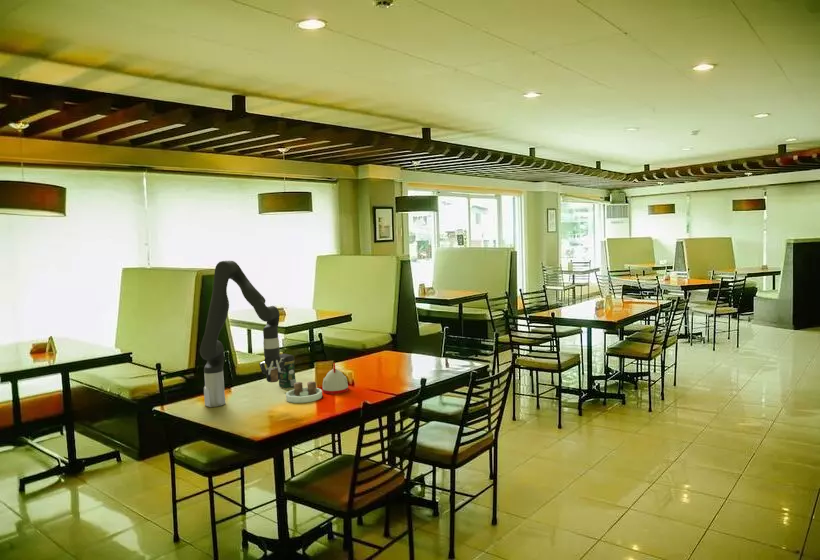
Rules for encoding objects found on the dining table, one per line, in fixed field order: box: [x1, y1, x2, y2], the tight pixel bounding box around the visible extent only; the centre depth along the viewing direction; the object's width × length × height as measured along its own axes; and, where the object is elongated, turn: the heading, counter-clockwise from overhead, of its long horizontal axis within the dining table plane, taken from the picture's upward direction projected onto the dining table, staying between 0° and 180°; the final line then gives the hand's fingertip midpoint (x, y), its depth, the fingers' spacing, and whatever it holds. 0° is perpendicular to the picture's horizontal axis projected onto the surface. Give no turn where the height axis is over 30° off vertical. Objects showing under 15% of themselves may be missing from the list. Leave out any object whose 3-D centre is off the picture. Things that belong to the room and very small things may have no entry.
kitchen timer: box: [321, 362, 349, 395], centre depth 308 cm, size 14×14×15 cm
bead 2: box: [307, 381, 317, 395], centre depth 299 cm, size 4×4×6 cm
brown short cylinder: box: [270, 367, 279, 383], centre depth 281 cm, size 4×4×6 cm
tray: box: [285, 386, 323, 404], centre depth 296 cm, size 18×18×3 cm
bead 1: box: [293, 381, 304, 395], centre depth 299 cm, size 4×4×6 cm
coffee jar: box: [278, 353, 297, 389], centre depth 321 cm, size 10×8×19 cm
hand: (273, 380), depth 281 cm, fingers closed on brown short cylinder, 4 cm apart
